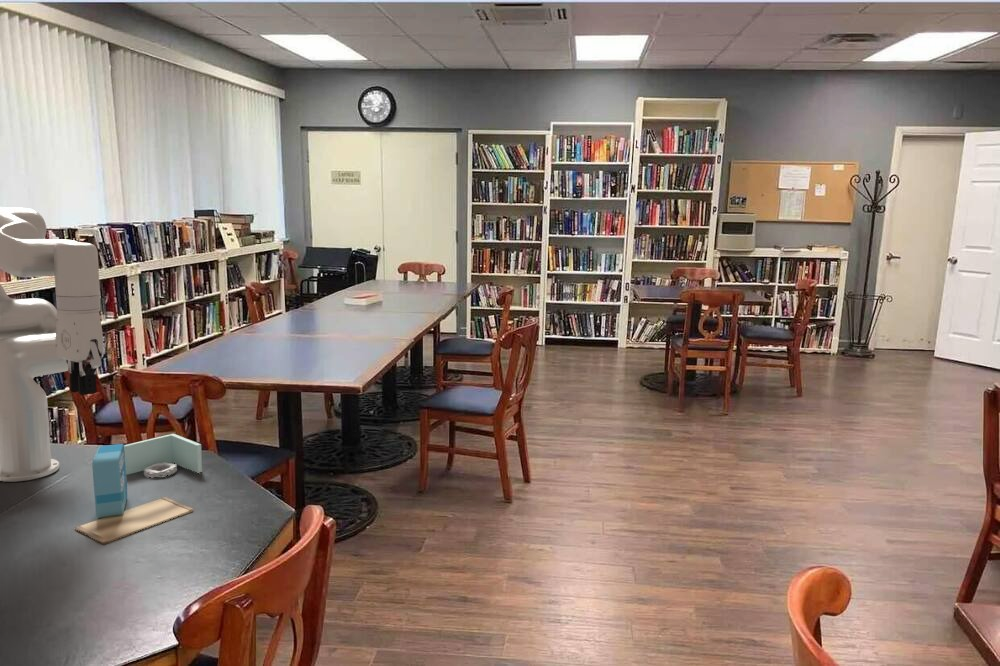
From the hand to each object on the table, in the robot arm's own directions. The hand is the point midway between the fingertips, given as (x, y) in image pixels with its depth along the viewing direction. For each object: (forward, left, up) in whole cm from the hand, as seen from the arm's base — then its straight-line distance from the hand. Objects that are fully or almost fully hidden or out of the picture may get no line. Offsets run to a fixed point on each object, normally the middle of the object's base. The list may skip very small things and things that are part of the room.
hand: (83, 391), depth 137 cm
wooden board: (+18, 0, -23) cm, 29 cm away
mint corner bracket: (-1, +17, -24) cm, 30 cm away
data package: (+9, 0, -23) cm, 25 cm away
